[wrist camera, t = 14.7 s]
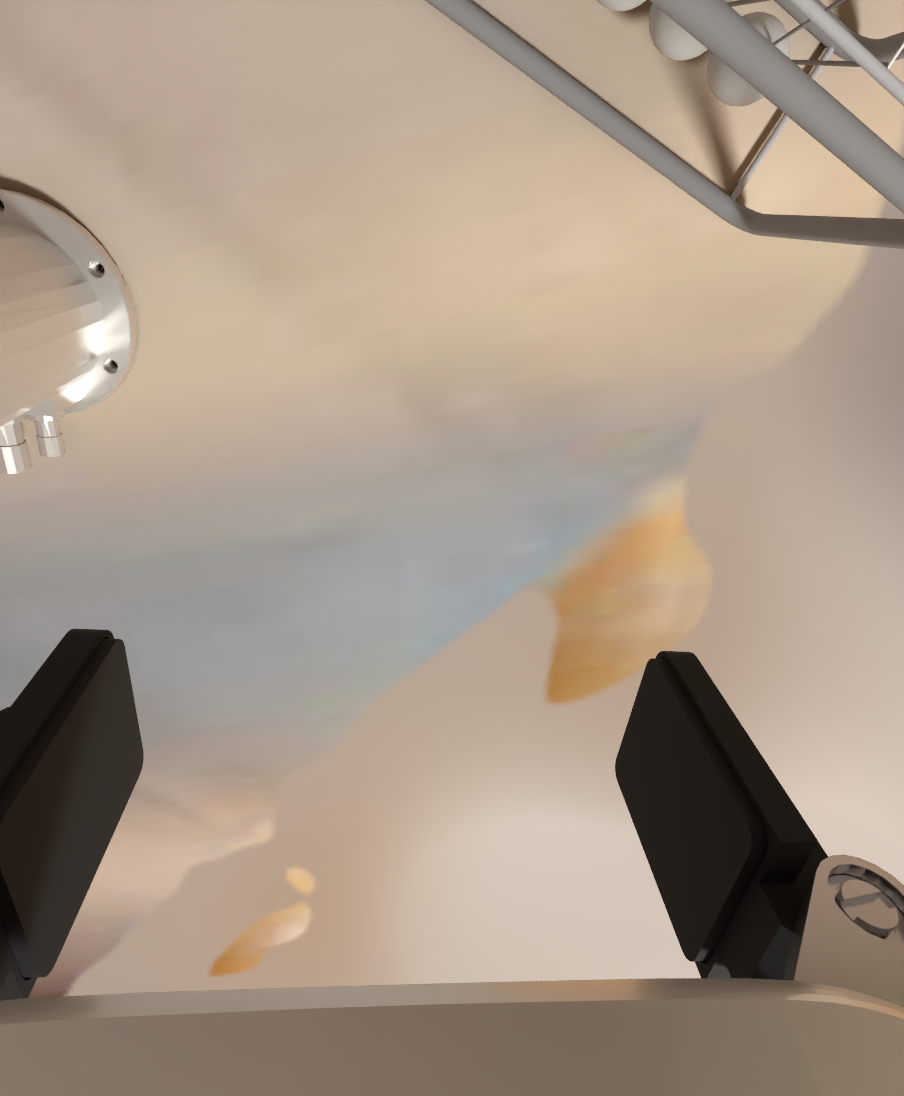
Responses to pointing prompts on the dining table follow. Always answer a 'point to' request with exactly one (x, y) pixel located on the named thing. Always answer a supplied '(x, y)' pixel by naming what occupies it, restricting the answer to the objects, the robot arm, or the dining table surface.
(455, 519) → the dining table surface
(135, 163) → the dining table surface
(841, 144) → the newton's cradle
